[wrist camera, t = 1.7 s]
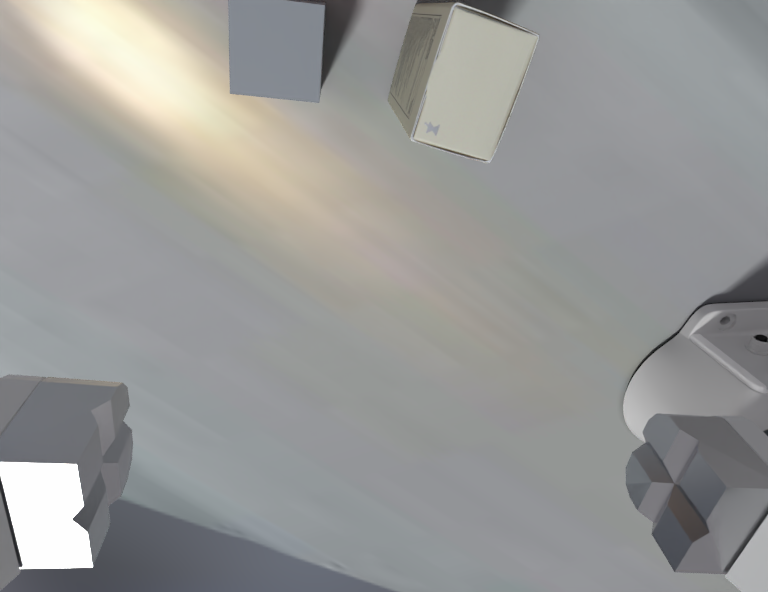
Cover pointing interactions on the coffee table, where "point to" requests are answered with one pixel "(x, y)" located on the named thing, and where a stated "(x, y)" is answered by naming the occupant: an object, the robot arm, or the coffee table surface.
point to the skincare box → (460, 78)
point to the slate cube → (276, 48)
